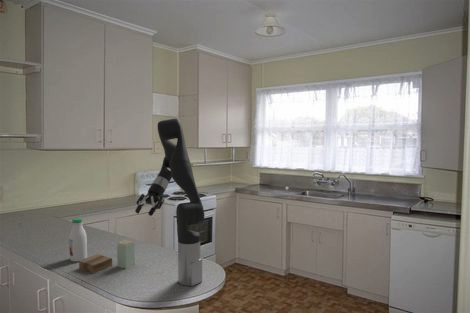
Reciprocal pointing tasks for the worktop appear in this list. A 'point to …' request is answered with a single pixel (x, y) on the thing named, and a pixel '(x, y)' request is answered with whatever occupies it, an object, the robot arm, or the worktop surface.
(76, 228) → the milk bottle
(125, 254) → the tea tin
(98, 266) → the walnut box
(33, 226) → the worktop surface
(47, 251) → the worktop surface
